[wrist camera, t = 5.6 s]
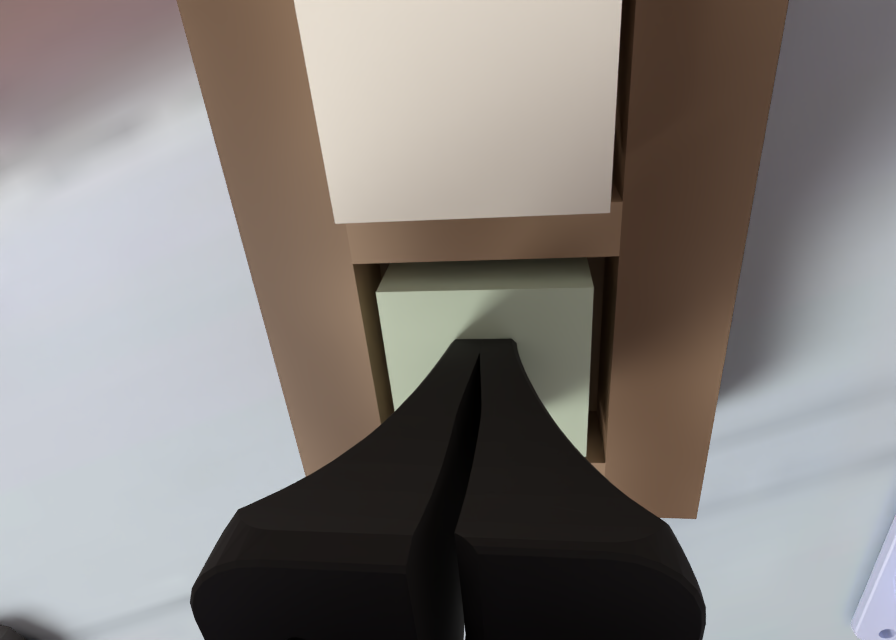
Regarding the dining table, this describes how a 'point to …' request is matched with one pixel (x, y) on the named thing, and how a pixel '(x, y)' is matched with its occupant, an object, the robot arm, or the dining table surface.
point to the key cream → (463, 106)
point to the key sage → (495, 324)
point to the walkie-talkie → (9, 634)
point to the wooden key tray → (515, 232)
